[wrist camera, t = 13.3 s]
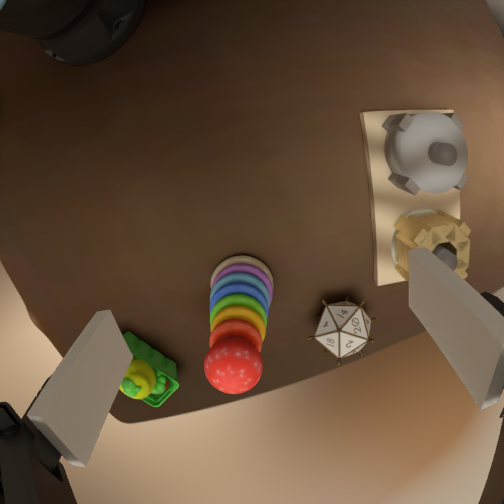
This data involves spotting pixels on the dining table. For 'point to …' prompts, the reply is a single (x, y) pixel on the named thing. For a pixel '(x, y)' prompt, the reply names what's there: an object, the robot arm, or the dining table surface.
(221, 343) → the stacking toy
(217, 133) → the dining table surface
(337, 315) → the game die
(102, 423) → the robot arm
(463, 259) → the brass gear
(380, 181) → the gear board
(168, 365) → the fruit basket
